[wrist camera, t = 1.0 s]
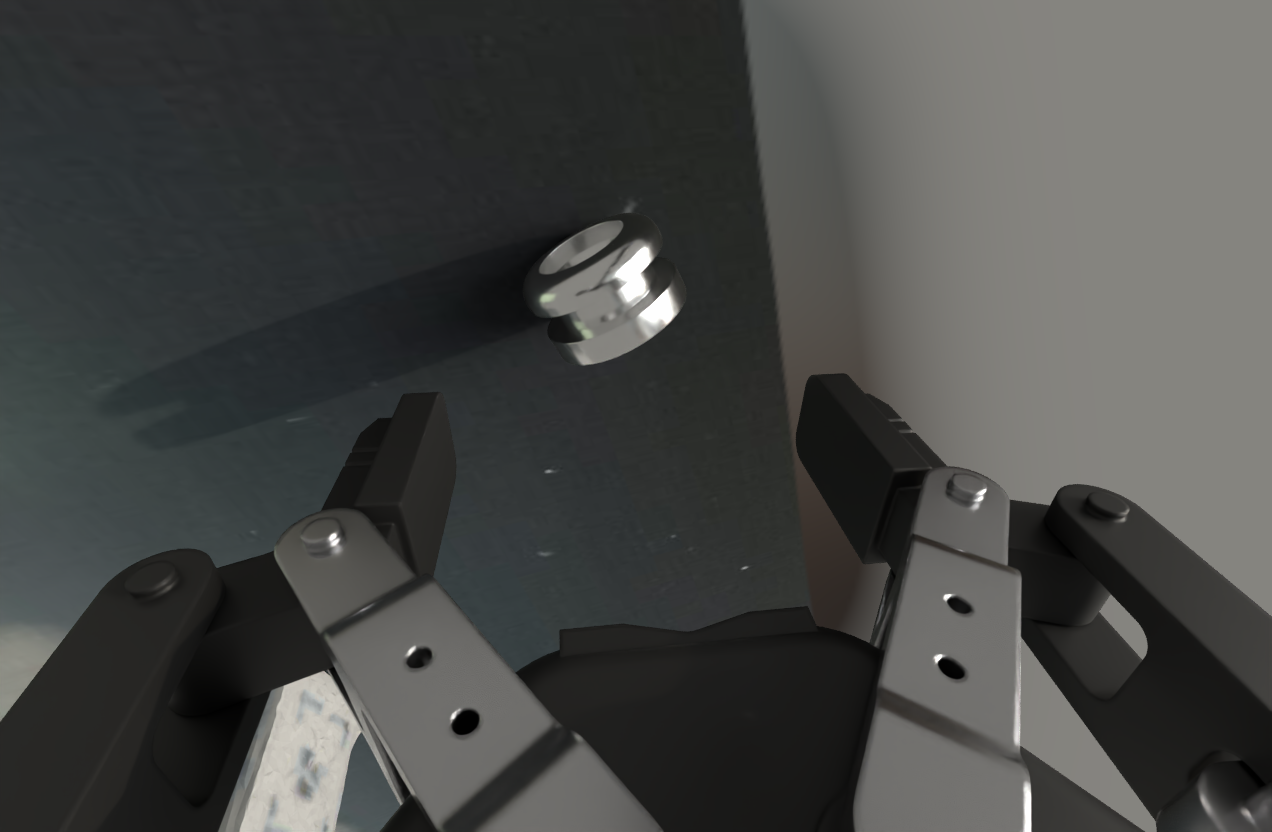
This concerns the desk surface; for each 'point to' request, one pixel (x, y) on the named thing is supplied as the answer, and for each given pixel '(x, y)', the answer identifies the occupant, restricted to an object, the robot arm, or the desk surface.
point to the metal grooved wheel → (605, 289)
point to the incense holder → (295, 761)
